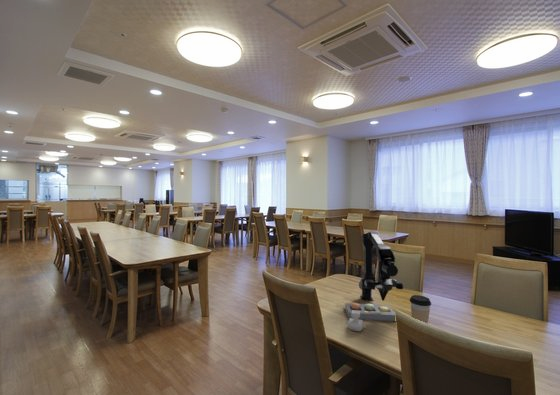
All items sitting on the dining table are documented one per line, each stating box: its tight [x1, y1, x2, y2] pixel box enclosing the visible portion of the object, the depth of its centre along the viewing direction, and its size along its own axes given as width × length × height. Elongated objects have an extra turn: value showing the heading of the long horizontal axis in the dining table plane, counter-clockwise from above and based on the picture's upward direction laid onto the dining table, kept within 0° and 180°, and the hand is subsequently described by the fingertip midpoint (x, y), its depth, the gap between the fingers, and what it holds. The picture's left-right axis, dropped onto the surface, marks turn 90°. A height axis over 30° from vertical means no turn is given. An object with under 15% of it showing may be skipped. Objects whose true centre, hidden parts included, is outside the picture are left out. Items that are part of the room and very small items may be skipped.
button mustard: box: [380, 306, 389, 312], centre depth 150 cm, size 4×4×3 cm
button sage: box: [365, 303, 375, 311], centre depth 150 cm, size 4×4×3 cm
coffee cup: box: [408, 294, 432, 324], centre depth 135 cm, size 9×9×15 cm
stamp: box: [345, 310, 366, 332], centre depth 133 cm, size 9×7×8 cm
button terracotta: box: [351, 302, 361, 310], centre depth 151 cm, size 4×4×3 cm
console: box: [344, 302, 396, 322], centre depth 150 cm, size 13×24×3 cm, turn 86°
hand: (382, 300), depth 150 cm, fingers closed
